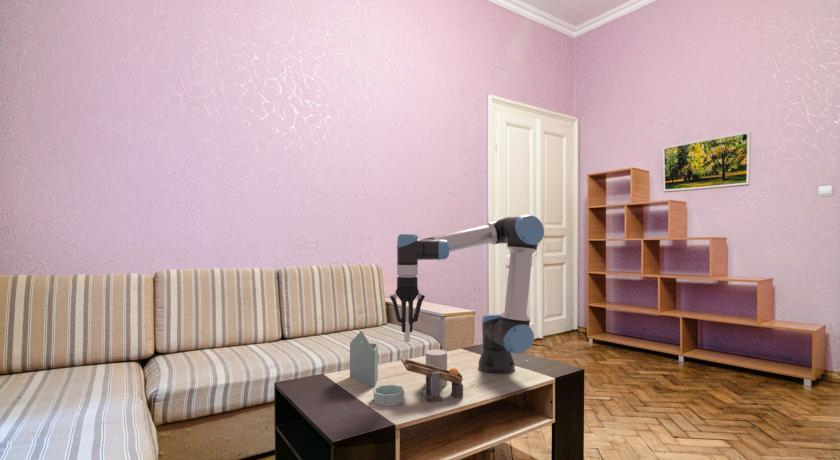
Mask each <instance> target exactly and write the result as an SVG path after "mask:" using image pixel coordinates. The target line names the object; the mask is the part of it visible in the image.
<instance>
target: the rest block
mask: <svg viewBox="0 0 840 460" xmlns="http://www.w3.org/2000/svg"><path fill="white" fill-rule="evenodd" d="M451 393H452V394H453V395H454V397H455V398H456V399H459V398H464V384H463V383H461V384H457V383H453V382H451Z"/></svg>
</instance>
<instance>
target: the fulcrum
mask: <svg viewBox="0 0 840 460" xmlns="http://www.w3.org/2000/svg"><path fill="white" fill-rule="evenodd" d="M430 366H434V365H430ZM440 388H441V387H440V373H439V372H431V377H430V376H426V375H425V389H423V390H422V393H423V395H424V397H425V398H426V400H427V402H428V404H429V403H437V402H438V403H440V402H444V399H443V396H442V395H441V392H440V391H441V389H440Z"/></svg>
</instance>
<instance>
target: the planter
mask: <svg viewBox="0 0 840 460" xmlns="http://www.w3.org/2000/svg"><path fill="white" fill-rule="evenodd" d="M378 345H379V344H378V343H371V342H369V340H368V338H367V337H366V335H365V334H364V332H363V330H360V331H359V333H358V334H356V336H355V337H354V338H353V339H351V341H350V343H349V378H352V379H353V380H355V379H356V380H355V381H358V382H359V383H363V384H365V385H367V386H369V387H371V388H376V385H377V382H378V379H379V356H378V355H379V353H378V351H379V349H378V347H379V346H378Z"/></svg>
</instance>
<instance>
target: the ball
mask: <svg viewBox="0 0 840 460" xmlns="http://www.w3.org/2000/svg"><path fill="white" fill-rule="evenodd" d="M448 370H449V374H450V375H454V376H458V375H459V373H460V371H459V370H458V368H457V367H451V368H450V369H448Z"/></svg>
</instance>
